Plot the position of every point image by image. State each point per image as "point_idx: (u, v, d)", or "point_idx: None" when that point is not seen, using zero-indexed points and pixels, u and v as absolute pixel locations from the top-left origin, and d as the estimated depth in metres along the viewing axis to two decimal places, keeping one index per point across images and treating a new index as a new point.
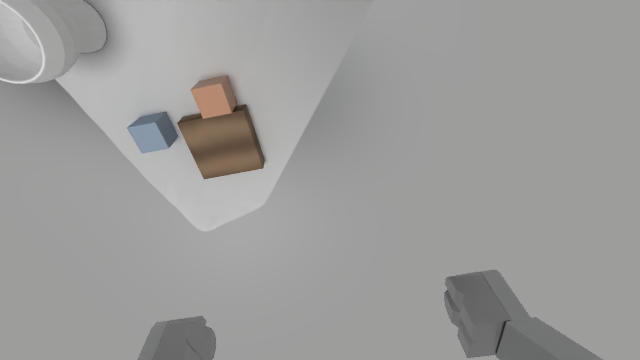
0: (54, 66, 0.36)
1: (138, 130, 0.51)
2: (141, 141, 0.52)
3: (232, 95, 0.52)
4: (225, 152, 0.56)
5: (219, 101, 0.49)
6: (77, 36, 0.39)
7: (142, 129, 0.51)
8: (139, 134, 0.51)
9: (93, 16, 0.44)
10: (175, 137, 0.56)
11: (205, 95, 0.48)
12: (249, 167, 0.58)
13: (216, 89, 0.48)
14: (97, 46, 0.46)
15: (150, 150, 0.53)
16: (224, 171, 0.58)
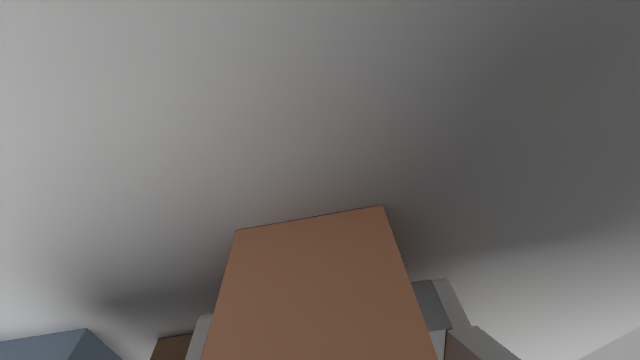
0: None
1: None
2: None
3: None
4: None
5: None
6: None
7: None
8: None
9: None
10: None
11: None
12: None
13: None
14: None
15: None
16: None
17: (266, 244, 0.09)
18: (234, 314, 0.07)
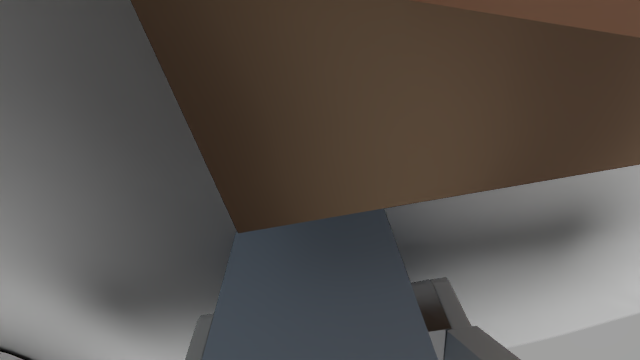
0: None
1: None
2: None
3: None
4: None
5: None
6: None
7: None
8: None
9: None
10: (381, 233, 0.09)
11: None
12: None
13: None
14: None
15: None
16: None
17: None
18: None
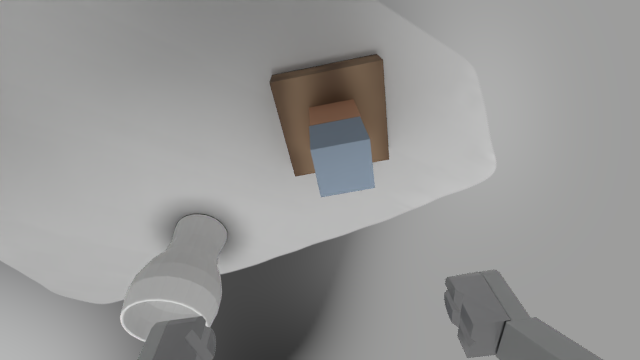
0: (186, 292, 0.33)
1: (326, 181, 0.27)
2: (349, 182, 0.27)
3: (338, 106, 0.32)
4: None
5: None
6: (177, 253, 0.37)
7: (325, 174, 0.26)
8: (335, 181, 0.27)
9: (184, 222, 0.43)
10: (358, 121, 0.28)
11: None
12: (377, 85, 0.32)
13: None
14: (214, 227, 0.44)
15: (370, 172, 0.26)
16: (379, 127, 0.35)
17: None
18: None
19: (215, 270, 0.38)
